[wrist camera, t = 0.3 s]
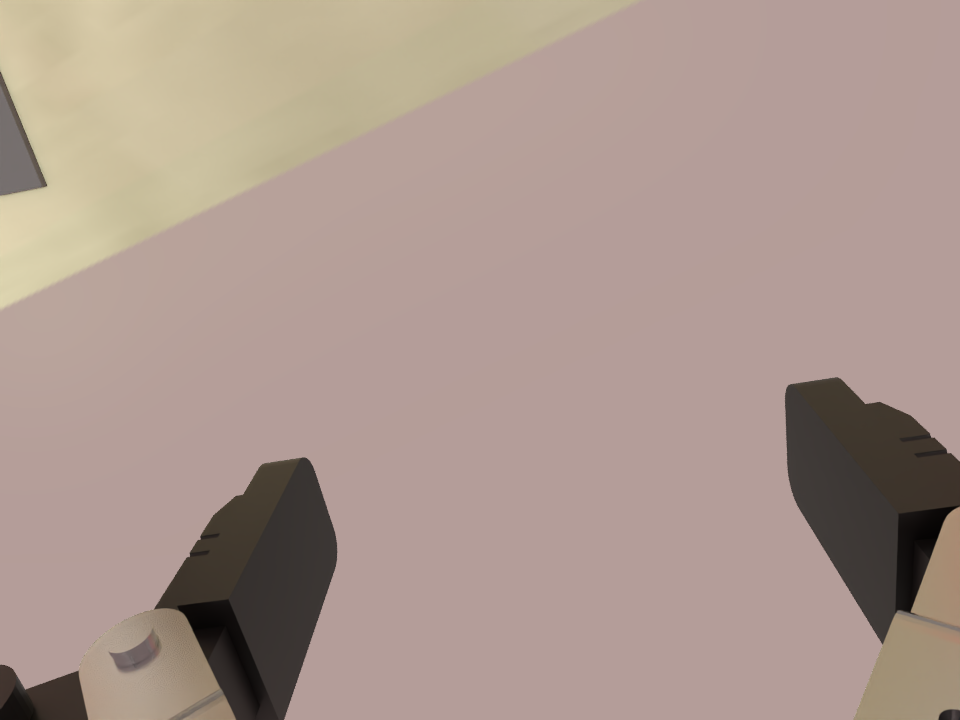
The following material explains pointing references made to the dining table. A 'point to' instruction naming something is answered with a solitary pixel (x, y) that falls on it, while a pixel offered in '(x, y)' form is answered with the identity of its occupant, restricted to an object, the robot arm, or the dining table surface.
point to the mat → (15, 151)
